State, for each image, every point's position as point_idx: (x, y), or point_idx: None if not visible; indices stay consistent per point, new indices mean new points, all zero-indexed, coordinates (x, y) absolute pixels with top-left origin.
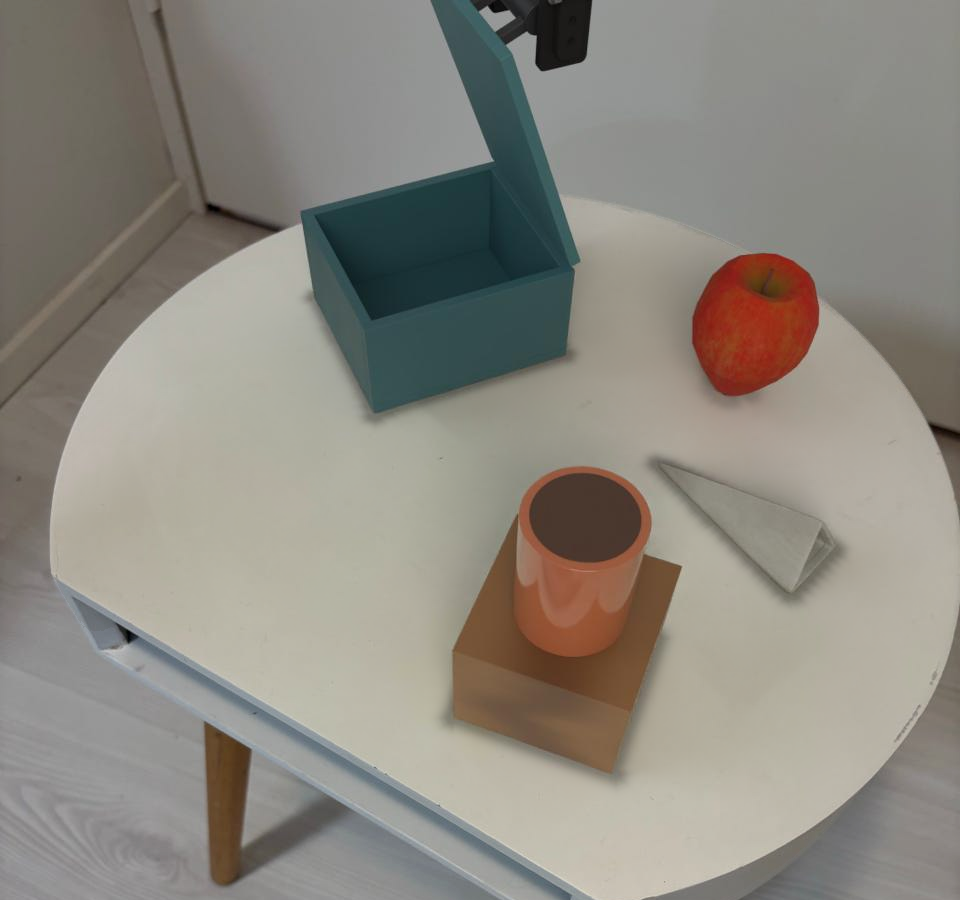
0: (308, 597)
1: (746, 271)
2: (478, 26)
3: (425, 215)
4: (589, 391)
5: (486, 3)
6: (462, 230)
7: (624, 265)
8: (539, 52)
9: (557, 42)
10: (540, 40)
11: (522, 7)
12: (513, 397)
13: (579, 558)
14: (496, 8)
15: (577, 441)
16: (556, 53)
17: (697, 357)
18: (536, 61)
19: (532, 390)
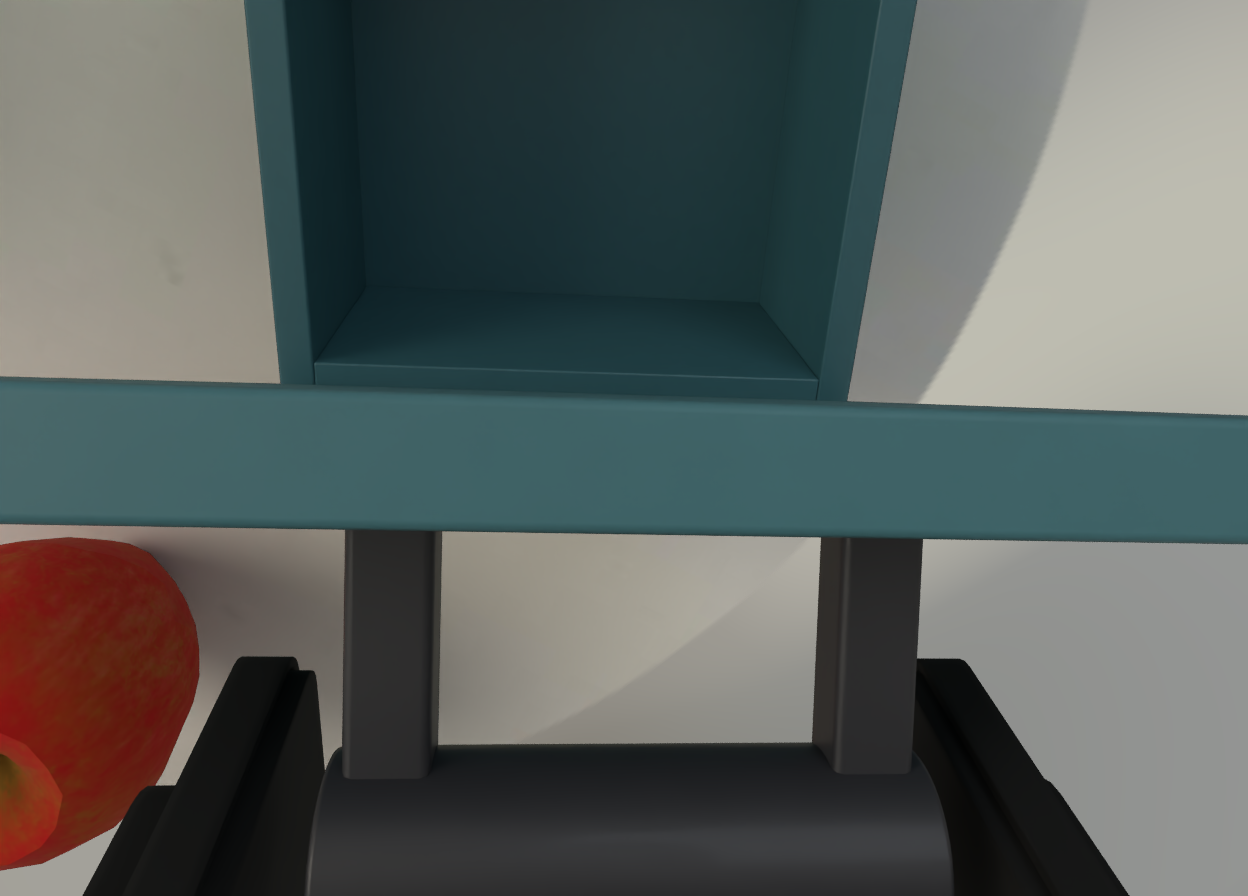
0: None
1: (16, 762)
2: (94, 429)
3: (824, 136)
4: (210, 296)
5: (816, 656)
6: (786, 243)
7: (574, 556)
8: (210, 719)
9: (109, 851)
10: (181, 776)
11: (412, 837)
12: (248, 110)
13: None
14: None
15: (51, 188)
16: (147, 794)
17: (95, 543)
18: (263, 671)
19: (257, 169)
